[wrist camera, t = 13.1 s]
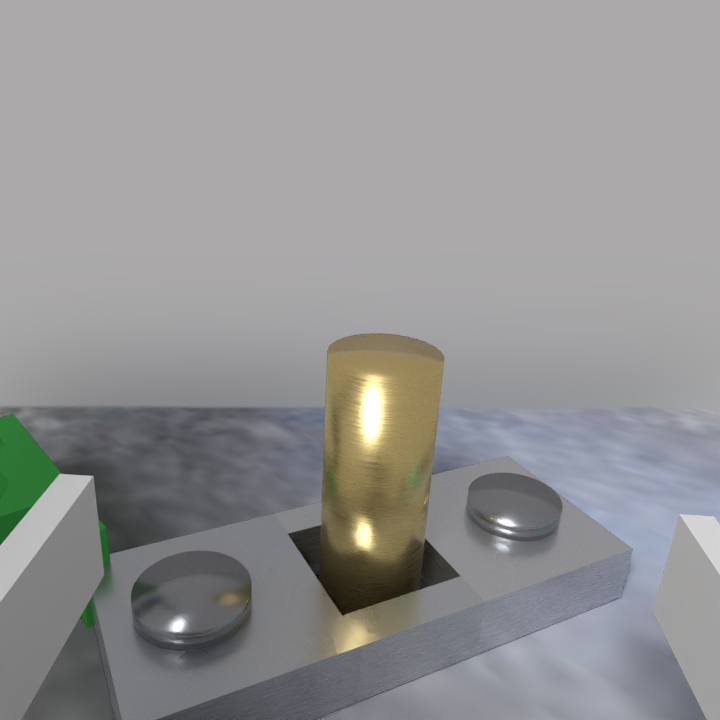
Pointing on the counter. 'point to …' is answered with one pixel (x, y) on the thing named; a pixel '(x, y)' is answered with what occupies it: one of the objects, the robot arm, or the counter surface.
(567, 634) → the counter surface
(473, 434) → the counter surface
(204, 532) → the plate with dome knobs
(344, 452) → the link pin
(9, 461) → the pipe clamp
